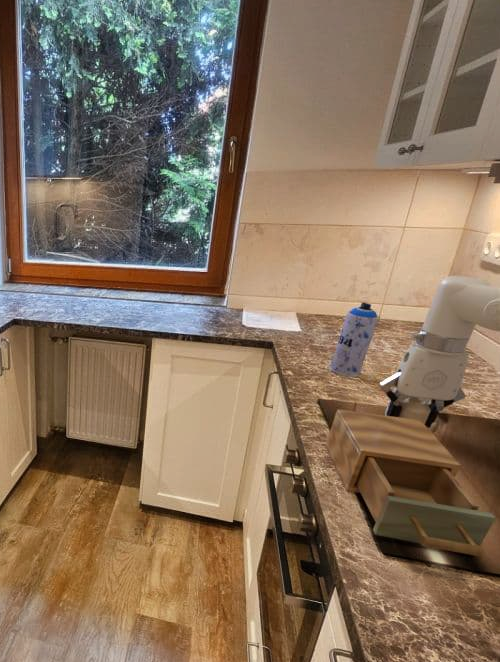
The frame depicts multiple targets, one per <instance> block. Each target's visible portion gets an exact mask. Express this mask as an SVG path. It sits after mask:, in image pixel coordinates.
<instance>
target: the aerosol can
mask: <svg viewBox="0 0 500 662" xmlns="http://www.w3.org/2000/svg"><path fill="white" fill-rule="evenodd" d="M371 307H372V304H371V303H368V302H361V304H360V306H357V307H353V308H352V309H351V310H349V311H347V313H346V315H345V319H344V322H343V325H342V328H341V332H340V334H339V339H338V341H337V344H336V347H335V351H334V354H333V357H332V360H331V362H330V365H329V368H328V369H329V371H331V372H332V373H334V374H336V375H338V376H341V377H347V378H357V377H360V375H361V371H362V367H363V365H364V362H365V359H366V356H367V353H368V350H369V348H370V345H371V342H372V339H373V335H374V333H375V330H376V327H377V325H378V322H379V315H377V312H376V311H375V310H373V309H372V308H371Z"/></svg>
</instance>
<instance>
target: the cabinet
mask: <svg viewBox="0 0 500 662" xmlns="http://www.w3.org/2000/svg"><path fill="white" fill-rule="evenodd" d="M335 412H336V413H335V415H334V418H333V421H332V424H331V428H330V430H329V433H328V436H327V439H326V443H325V448H326V450H327V452H328V455H329V457H330V459H331V461H332V463H333V465H334V468H335V469H336V472H337V474H338V476H339V478H340V479H341V482H342V485H343V486H344V489H345V491H346V492H350V493H357V494H361V493H360V491H359V489H358V487H357V485H356V483H355V482H356V480H357V477H358V474H359V472H360V469H361V467H362V464H363V461H364V459H365V456H366V455H367V456H373V457H380V458H387V459H393V460H400V461H406V462H413V463H420V464H426V465H433V466H440V467H446V468H447V469H448V470H449V472H450V473H451V474H452V475H453V476H454V478H456V475H457V473H458V471H459V469H460V467H461V464H460V463H459V461H457V459H455V457H454V456H453V455H452V454H451V453H450V452H449V450H448V449H447V448H446V447H445V446H444V445H443V443H441V442H440V441H439V439H438V438H437V437H436V436H435V435H434V434H433V432H432V431H431V430H430V429H429V428H428V427H426V426H425V425H424V424H423V423H422V421H421V420H414V419H407V418H399V417H392V416H385V414H377V413H376V414H375V413H367V412H361V411H354V410H345V409H337V410H336V411H335Z"/></svg>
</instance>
